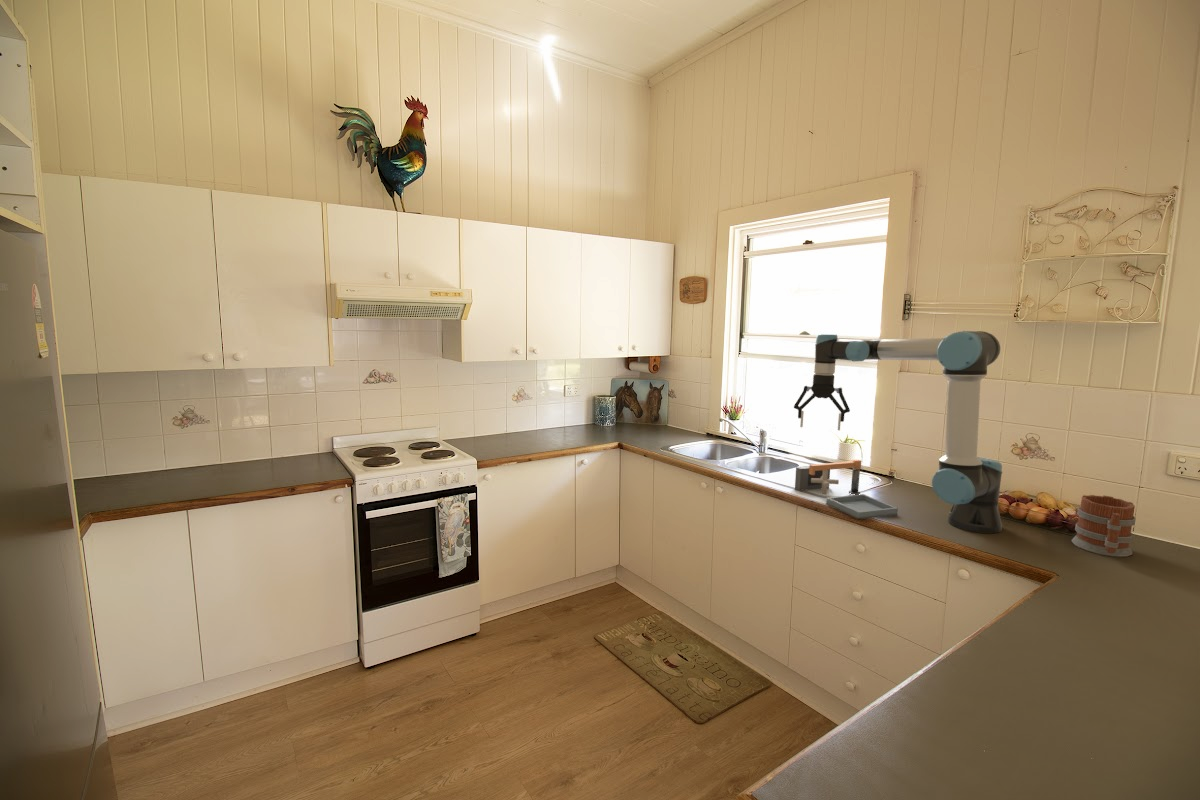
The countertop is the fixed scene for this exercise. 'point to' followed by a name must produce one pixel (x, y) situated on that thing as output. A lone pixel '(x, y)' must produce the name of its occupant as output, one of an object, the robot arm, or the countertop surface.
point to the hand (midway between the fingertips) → (819, 428)
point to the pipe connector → (824, 481)
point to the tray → (861, 506)
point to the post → (855, 482)
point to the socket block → (807, 479)
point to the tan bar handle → (834, 466)
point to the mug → (1105, 525)
